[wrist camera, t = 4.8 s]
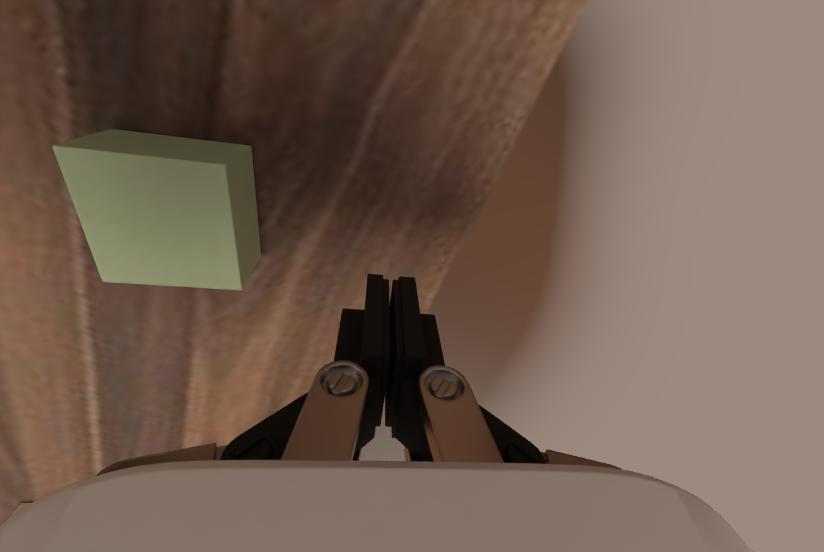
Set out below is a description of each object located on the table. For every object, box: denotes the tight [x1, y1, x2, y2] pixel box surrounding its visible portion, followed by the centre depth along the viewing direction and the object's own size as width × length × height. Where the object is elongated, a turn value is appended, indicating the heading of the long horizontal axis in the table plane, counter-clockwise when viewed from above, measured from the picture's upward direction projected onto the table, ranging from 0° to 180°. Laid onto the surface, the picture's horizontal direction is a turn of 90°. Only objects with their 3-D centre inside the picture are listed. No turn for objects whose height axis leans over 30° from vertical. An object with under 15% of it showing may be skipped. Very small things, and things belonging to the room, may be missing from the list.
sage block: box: [52, 129, 261, 290], centre depth 16 cm, size 6×6×4 cm
